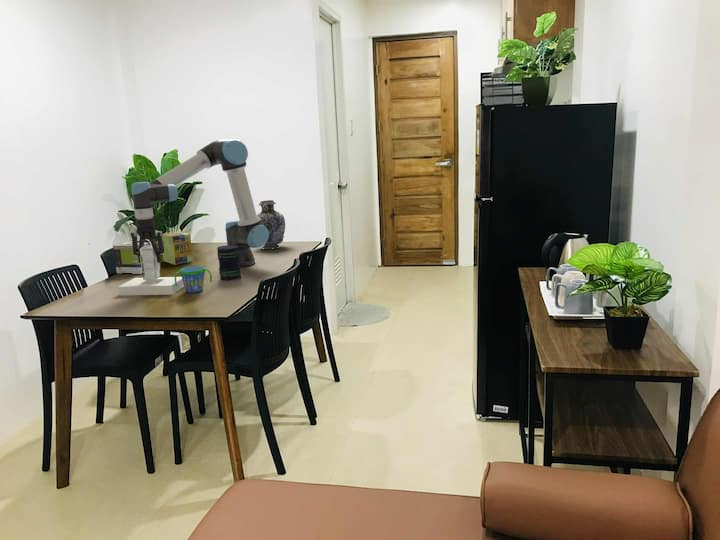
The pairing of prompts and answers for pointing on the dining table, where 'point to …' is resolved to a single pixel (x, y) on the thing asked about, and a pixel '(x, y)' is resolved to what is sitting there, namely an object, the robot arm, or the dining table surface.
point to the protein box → (177, 248)
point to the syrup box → (148, 263)
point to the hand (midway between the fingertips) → (151, 270)
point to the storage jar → (229, 262)
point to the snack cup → (193, 278)
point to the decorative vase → (272, 224)
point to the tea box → (127, 259)
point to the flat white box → (151, 286)
